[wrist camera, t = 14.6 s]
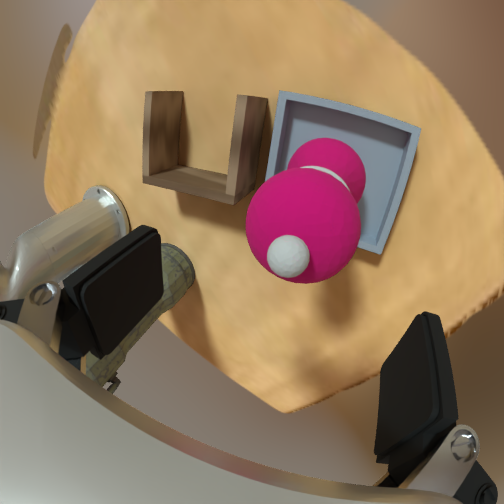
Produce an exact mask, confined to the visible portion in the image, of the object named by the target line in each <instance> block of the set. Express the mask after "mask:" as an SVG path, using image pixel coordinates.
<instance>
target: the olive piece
mask: <svg viewBox="0 0 504 504" xmlns="http://www.w3.org/2000/svg"><path fill="white" fill-rule="evenodd" d="M161 254H162V271H163V285H164V293H163V296H162V298H161V299H160V300H159V301H158V303H157V304H156V305H155V306H154V307H153V308H152V309H151V310H150V311H149V312H148V313H147V314H146V315H145V316H144V318H143V319H142V320H141V321H140V322H139V323H138V324H137V325H136V326H135V327H134V328H133V329H132V331H131V332H130V333H129V334H128V335H127V336H126V337H125V338H124V339H123V340H122V341H121V343H120V344H119V345H118V346H117V347H116V348H115V349H114V350H113V351H112V353H111V354H109V355H105V356H104V357H103V358H102V359H101V360H100V359H98V358H97V357H95V356H94V355H93V354H91V352H90V351H89V352H88V353H87V354H86V376H87V377H89V378H90V379H91V380H93V381H94V382H96V383H97V384H98V385H100V386H101V387H103V386H104V384H105V383H106V382H111V383H113V384H112V385H110V386H109V388H108V389H107V391H109V392H110V393H112V394H113V393H114V391H115V390H116V389H117V387H118V386H119V384H120V383H121V382H120V380H119V379H118V378H117V377H116V375H117V372H116V371H117V369H118V368H119V367H120V366H121V365H122V364H123V362H124V361H125V358H126V354H127V352H128V351H129V350H130V349H131V348H132V347H133V345H134V344H135V343H136V342H137V341H138V340H139V339H140V337H141V336H142V335H143V334H144V333H145V332H146V331H147V330H148V329H149V327H150V326H151V325H152V324H153V323H154V322H155V321H156V320H157V319H158V318H159V316H160V315H161V314H162V313H164V312H166V311H167V310H169V309H171V308H172V307H173V306H174V305H175V304H176V303H177V302H178V301H179V300H180V299H181V298H182V297H183V295H184V294H185V293H186V290H187V289H188V288H189V287H190V286H191V285H192V284H193V282H194V279H195V271H194V268H193V265H192V263H191V261H190V259H189V258H188V256H187V255H186V254H185V253H184V252H183V251H182V250H181V249H179V248H178V247H176V246H174V245H171V244H168V243H163V244H161Z"/></svg>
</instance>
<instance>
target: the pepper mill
mask: <svg viewBox="0 0 504 504" xmlns="http://www.w3.org/2000/svg"><path fill="white" fill-rule="evenodd" d="M365 184H366V172H365V168H364V165H363V162H362V160H361V159H360V157H359V155H358V154H357V153H356V152H355V151H354V149H353V148H351V147H350V146H349V145H347V144H346V143H344V142H342V141H339V140H336V139H332V138H317V139H313V140H310V141H308V142H306V143H305V144H303V145H302V146H300V147H299V148H298V149H297V150H296V152H295V153H294V154H293V156H292V157H291V159H290V161H289V164H288V167H287V170H285V171H282V172H280V173H278V174H276V175H274V176H272V177H271V178H269V179H268V180H267V181H265V182H264V183H263V184H262V185H261V186H260V188H259V189H258V190H257V192H256V193H255V195H254V196H253V198H252V199H251V202H250V204H249V207H248V210H247V215H246V235H247V240H248V243H249V246H250V248H251V251H252V253H253V254H254V256H255V258H256V259H257V260H258V261H259V263H260V264H261V265H262V266H263V267H264V268H265V269H267V270H268V271H269V272H270V273H272V274H274V275H275V276H277V277H279V278H281V279H284V280H286V281H290V282H294V283H305V284H307V283H316V282H320V281H323V280H326V279H328V278H330V277H332V276H334V275H336V274H337V273H338V272H339V271H340V270H341V269H342V268H343V267H345V266H346V265H347V264H348V262H349V261H350V259H351V258H352V256H353V255H354V253H355V251H356V249H357V246H358V243H359V239H360V235H361V220H360V213H359V209H358V206H357V204H358V202H359V200H360V199H361V197H362V195H363V192H364V189H365Z"/></svg>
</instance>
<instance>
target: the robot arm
mask: <svg viewBox="0 0 504 504" xmlns="http://www.w3.org/2000/svg"><path fill="white" fill-rule="evenodd" d="M86 262H87V263H86ZM71 273H72V274H71ZM67 276H68V277H67ZM63 279H64V280H63ZM62 280H63V284H64V288H63V289H62V290H61V288H60V285H59V284H58V283H59V282H61V281H62ZM163 293H164V285H163V271H162V254H161V237H160V234H158V231H157V229H155V228H152V227H149V226H146V225H141V226H139V227H137V228H136V229H134V230H133V231H131V232H130V233H129V222H128V217H127V214H126V211H125V209H124V207H123V205H122V203H121V202H120V200H119V198H118V197H117V196H116V195H115V194H114V193H113V192H112V191H111V190H110V189H108V188H107V187H105V186H101V185H96V186H93V187H91V188H89V189H88V190H87V191H86V193H85V194H84V197H83V201H81V202H79V203H77V204H75V205H73V206H71V207H70V208H68V209H66V210H64V211H62V212H60V213H58V214H56V215H54V216H53V217H51V218H49V219H48V220H45V221H44V222H42V223H40V224H38V225H37V226H35V227H33V228H32V229H30V230H28V231H27V232H25V233H23V234H22V235H20V236H19V237H18V238H17V239H16V241H15V242H14V243H13V245H12V247H11V250H10V252H9V255H8V258H7V262H6V265H5V267H3V265H2V263H1V261H0V504H496V502H497V497H498V492H497V487H496V485H495V483H494V482H493V481H492V480H491V478H490V477H489V476H488V474H487V473H486V472H485V471H484V469H483V468H482V467H481V465H480V464H479V463H478V462H477V460H476V459H477V456H478V454H479V447H480V446H479V439H478V437H477V434H476V433H475V431H474V430H473V429H472V428H471V427H469V426H467V425H458V426H456V420H458V409H457V401H456V393H455V386H454V380H453V374H452V368H451V363H450V358H449V353H448V349H447V344H446V340H445V336H444V332H443V328H442V324H441V320H440V317H439V316H438V315H436V314H432V313H429V312H426V311H425V312H423V313H422V314H421V315H420V314H418V315H417V316H416V317H415V318H414V320H413V321H412V323H411V325H410V326H409V328H408V329H407V331H406V332H405V334H404V335H403V337H402V338H401V340H400V341H399V342H398V344H397V345H396V347H395V348H394V350H393V351H392V352H391V354H390V355H389V356H388V358H387V359H386V360H385V362H384V363H383V365H382V368H381V372H380V395H379V409H378V422H377V430H376V439H375V447H374V453H375V455H377V460H376V463H383V464H389V465H388V472H386V474H385V475H383V476H382V477H381V478H380V479H379V480H378V481H377V482H376V483H375V484H374V485H373V486H365V485H356V484H348V483H342V482H334V481H328V480H323V479H318V478H313V477H307V476H303V475H299V474H295V473H290V472H286V471H282V470H279V469H275V468H272V467H268V466H265V465H262V464H258V463H255V462H252V461H249V460H246V459H243V458H240V457H237V456H235V455H232V454H229V453H227V452H224V451H221V450H219V449H216V448H214V447H211V446H209V445H207V444H204V443H202V442H200V441H197V440H195V439H193V438H191V437H189V436H186V435H184V434H182V433H180V432H178V431H176V430H174V429H171V428H170V427H168V426H166V425H164V424H162V423H160V422H158V421H156V420H155V419H153V418H151V417H149V416H148V415H146V414H144V413H142V412H141V411H139V410H137V409H135V408H134V407H132V406H130V405H129V404H127V403H126V402H124V401H122V400H121V399H119V398H118V397H116V396H115V395H113V394H112V393H110V392H109V391H107V390H105V389H104V388H103V387H101V386H100V385H98V384H97V383H96V382H94V381H93V380H91V379H90V378H89V377H87V376H86V354H87V353H88V352H89V351H90V352H91V354H93V355H94V356H95V357H97V358H98V359H100V360H101V359H102V358H103V357H104V356H105V355H109V354H111V353H112V351H113V350H114V349H115V348H116V347H117V346H118V345H119V344H120V343H121V341H122V340H123V339H124V338H125V337H126V336H127V335H128V334H129V333H130V332H131V331H132V329H133V328H134V327H135V326H136V325H137V324H138V323H139V322H140V321H141V320H142V319H143V318H144V316H145V315H146V314H147V313H148V312H149V311H150V310H151V309H152V308H153V307H154V306H155V305H156V304H157V303H158V301H159V300H160V299H161V298H162V296H163Z"/></svg>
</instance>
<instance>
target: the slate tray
mask: <svg viewBox="0 0 504 504" xmlns="http://www.w3.org/2000/svg"><path fill="white" fill-rule="evenodd" d="M420 131H421V128H418V127H416V126H413V125H411V124H408V123H405V122H403V121H400V120H397V119H394V118H391V117H388V116H385V115H382V114H379V113H376V112H373V111H369V110H366V109H363V108H359V107H355V106H352V105H348V104H344V103H340V102H336V101H332V100H328V99H323V98H318V97H314V96H309V95H303V94H298V93H292V92H286V91H280V90H279V97H278V103H277V109H276V116H275V122H274V128H273V134H272V141H271V147H270V153H269V159H268V166H267V172H266V178H265V181H267V180H268V179H269V178H271V177H272V176H274V175H276V174H278V173H280V172H282V171H285V170H287V167H288V164H289V161H290V159H291V157H292V156H293V154H294V153H295V152H296V150H297V149H298V148H299V147H300V146H302V145H303V144H305V143H306V142H308V141H310V140H313V139H317V138H332V139H336V140H339V141H342V142H344V143H346V144H347V145H349V146H350V147H351V148H353V149H354V151H355V152H356V153H357V154H358V155H359V157H360V159H361V160H362V162H363V165H364V168H365V172H366V184H365V189H364V192H363V195H362V197H361V199H360V200H359V202H358V204H357V206H358V209H359V213H360V220H361V235H360V239H359V243H358V246H357V247H359V248H362V249H365V250H368V251H371V252H374V253H377V254H380V255H381V253H382V250H383V248H384V245H385V243H386V240H387V238H388V235H389V232H390V230H391V227H392V224H393V222H394V219H395V216H396V213H397V210H398V208H399V205H400V202H401V199H402V196H403V193H404V189H405V186H406V183H407V180H408V176H409V173H410V170H411V166H412V163H413V159H414V155H415V152H416V148H417V144H418V140H419V136H420Z"/></svg>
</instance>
